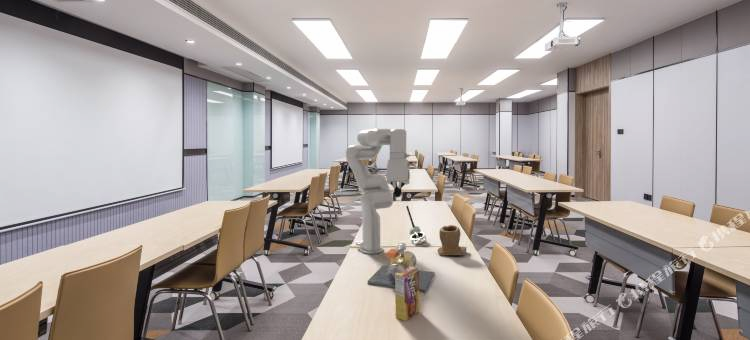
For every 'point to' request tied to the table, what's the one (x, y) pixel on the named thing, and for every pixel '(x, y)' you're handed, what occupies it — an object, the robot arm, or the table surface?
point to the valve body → (401, 262)
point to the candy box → (407, 293)
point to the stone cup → (450, 241)
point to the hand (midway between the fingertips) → (397, 196)
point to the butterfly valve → (416, 232)
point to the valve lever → (396, 251)
